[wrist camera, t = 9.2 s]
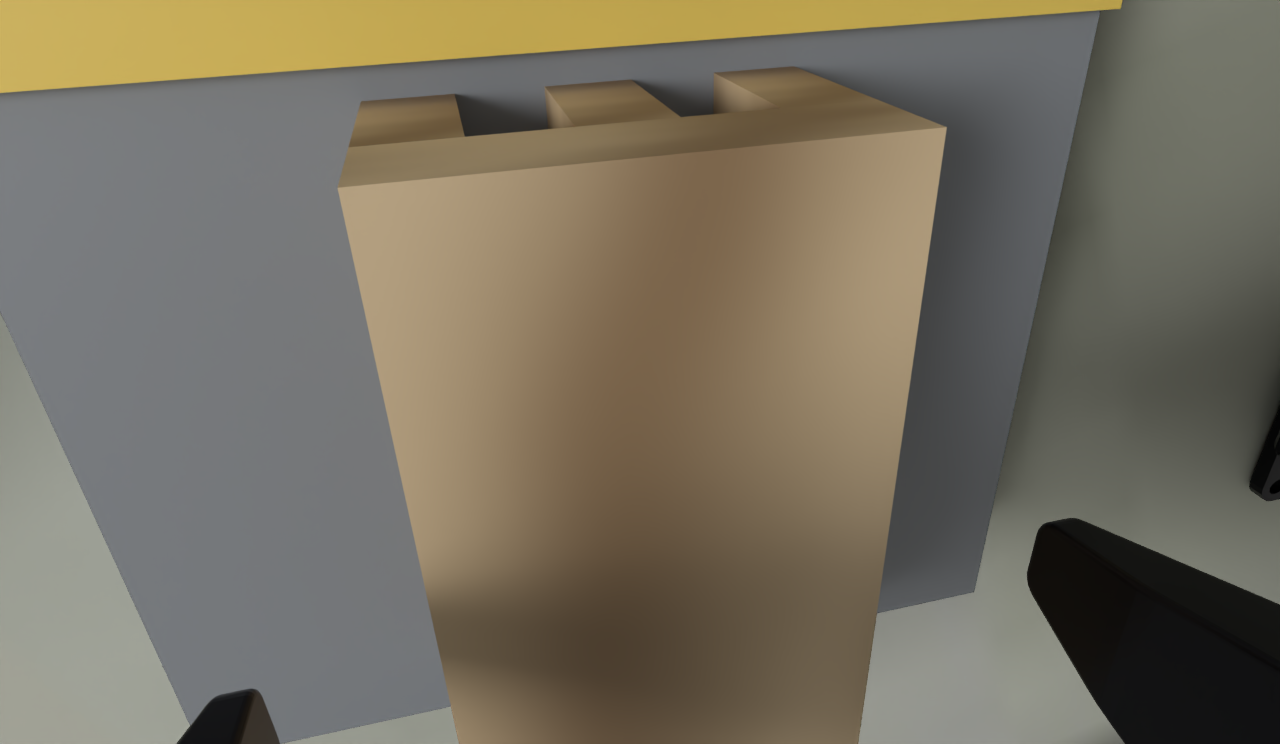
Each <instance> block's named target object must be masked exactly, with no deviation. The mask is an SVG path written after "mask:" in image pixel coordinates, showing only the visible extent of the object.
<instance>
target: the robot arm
mask: <svg viewBox="0 0 1280 744" xmlns="http://www.w3.org/2000/svg"><path fill="white" fill-rule="evenodd" d="M1249 487H1250V490H1251V491H1252V492H1254V493H1255V494H1257V495H1258V496H1260V497H1261V498H1262V499H1264V500H1266V501H1273V500H1277V499H1280V409H1279V411H1278V414H1277V416H1276V419H1275V421H1274V424H1273V426H1272V429H1271V431H1270V434H1269V436H1268V439H1267V441H1266V444H1265V446H1264V449H1263V451H1262V454H1261V456H1260V459H1259V461H1258V464H1257V466H1256V469H1255V471H1254V474H1253V476H1252V479H1251V481H1250V486H1249ZM1027 581H1028V586H1029V588H1030V591H1031V593H1032V595H1033V597H1034V599H1035V601H1036V602H1037V604H1038V606H1039V607H1040V609H1041V611H1042V613H1043V614H1044V616H1045V618H1046V619H1047V621H1048V623H1049V624H1050V626H1051V628H1052V630H1053V631H1054V633H1055V635H1056V636H1057V638H1058V640H1059V641H1060V643H1061V645H1062V647H1063V648H1064V650H1065V652H1066V653H1067V655H1068V657H1069V658H1070V660H1071V662H1072V664H1073V665H1074V667H1075V669H1076V670H1077V672H1078V674H1079V675H1080V677H1081V679H1082V681H1083V682H1084V684H1085V686H1086V687H1087V689H1088V690H1089V692H1090V694H1091V695H1092V697H1093V698H1094V700H1095V702H1096V703H1097V705H1098V706H1099V708H1100V709H1101V711H1102V712H1103V714H1104V715H1105V716H1106V718H1107V719H1108V721H1109V722H1110V724H1111V725H1112V726H1113V728H1114V729H1115V731H1116V732H1117V733H1118V735H1119V736H1120V738H1121V739H1122V740H1123V742H1124V743H1125V744H1280V605H1279V604H1277V603H1275V602H1272V601H1270V600H1268V599H1265V598H1263V597H1261V596H1258V595H1256V594H1254V593H1251V592H1249V591H1247V590H1244V589H1242V588H1240V587H1237V586H1235V585H1233V584H1230V583H1228V582H1226V581H1223V580H1221V579H1218V578H1216V577H1214V576H1211V575H1209V574H1207V573H1204V572H1202V571H1200V570H1197V569H1195V568H1193V567H1190V566H1188V565H1186V564H1183V563H1181V562H1179V561H1176V560H1174V559H1172V558H1169V557H1167V556H1165V555H1162V554H1160V553H1158V552H1155V551H1153V550H1151V549H1148V548H1146V547H1144V546H1141V545H1139V544H1137V543H1134V542H1132V541H1130V540H1127V539H1125V538H1122V537H1120V536H1118V535H1115V534H1113V533H1111V532H1108V531H1106V530H1104V529H1101V528H1099V527H1097V526H1094V525H1092V524H1090V523H1087V522H1085V521H1083V520H1080V519H1076V518H1067V519H1062V520H1057V521H1052V522H1048V523H1045V524H1043V525H1042V526H1041V527H1040V528H1039V530H1038V532H1037V536H1036V540H1035V543H1034V547H1033V551H1032V555H1031V559H1030V563H1029V567H1028V571H1027ZM177 744H280V742H279V738H278V735H277V733H276V730H275V728H274V725H273V722H272V720H271V717H270V715H269V712H268V709H267V707H266V704H265V702H264V699H263V697H262V695H261V693H260V692H259V691H258V690H256V689H251V688H250V689H245V690H240V691H235V692H230V693H226V694H221V695H218V696H216V697H214V698H213V699H212V700H210V701H209V702H208V704H207V705H206V706H205V707H204V709H203V710H202V711H201V712H200V714H199V715H198V716H197V718H196V719H195V720H194V722H193V723H192V724H191V725H190V727H189V728H188V729H187V731H186V732H185V733H184V735H183V736H182V737H181V738H180V740H179V741H178V742H177Z"/></svg>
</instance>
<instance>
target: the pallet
mask: <svg viewBox="0 0 1280 744" xmlns="http://www.w3.org/2000/svg"><path fill="white" fill-rule="evenodd" d="M544 88H545V99H546V110H547V122H548V129H545V130H534V131H523V132H512V133H501V134H490V135H479V136H468V137H465V135H464V131H463V127H462V123H461V119H460V115H459V110H458V106H457V102H456V98H455V94H445V95H433V96H420V97H408V98H396V99H383V100H371V101H361V103H360V106H359V110H358V114H357V117H356V121H355V125H354V129H353V132H352V136H351V140H350V143H349V147H348V151H347V154H346V158H345V162H344V166H343V169H342V173H341V177H340V180H339V184H338V193H339V197H340V202H341V206H342V211H343V215H344V220H345V225H346V229H347V234H348V238H349V243H350V247H351V252H352V257H353V261H354V266H355V270H356V275H357V279H358V284H359V289H360V293H361V298H362V302H363V307H364V311H365V316H366V321H367V325H368V330H369V334H370V339H371V343H372V348H373V353H374V357H375V362H376V366H377V371H378V375H379V380H380V385H381V389H382V394H383V398H384V403H385V407H386V412H387V417H388V421H389V426H390V430H391V435H392V439H393V444H394V449H395V453H396V458H397V462H398V467H399V471H400V476H401V481H402V485H403V490H404V494H405V499H406V503H407V508H408V513H409V517H410V522H411V526H412V531H413V535H414V540H415V545H416V549H417V554H418V558H419V563H420V567H421V572H422V577H423V581H424V586H425V590H426V595H427V599H428V604H429V609H430V613H431V618H432V622H433V627H434V631H435V636H436V641H437V645H438V650H439V654H440V659H441V663H442V668H443V673H444V677H445V682H446V686H447V691H448V695H449V700H450V704H451V709H452V714H453V718H454V723H455V727H456V732H457V736H458V741H459V744H858V741H859V734H860V727H861V720H862V713H863V706H864V699H865V692H866V685H867V678H868V671H869V664H870V657H871V651H872V644H873V637H874V630H875V623H876V616H877V609H878V602H879V595H880V588H881V581H882V574H883V567H884V560H885V553H886V546H887V539H888V532H889V525H890V518H891V512H892V505H893V498H894V491H895V484H896V477H897V470H898V463H899V456H900V449H901V442H902V435H903V428H904V421H905V414H906V407H907V400H908V393H909V386H910V380H911V373H912V366H913V359H914V352H915V345H916V338H917V331H918V324H919V317H920V310H921V303H922V296H923V289H924V282H925V275H926V268H927V261H928V254H929V248H930V241H931V234H932V227H933V220H934V213H935V206H936V199H937V192H938V185H939V178H940V171H941V164H942V157H943V150H944V143H945V136H946V129H947V127H945V126H942V125H940V124H937V123H935V122H932V121H930V120H927V119H925V118H922V117H920V116H917V115H915V114H912V113H910V112H907V111H905V110H902V109H900V108H897V107H895V106H892V105H890V104H887V103H885V102H882V101H880V100H877V99H875V98H872V97H870V96H867V95H865V94H862V93H860V92H857V91H855V90H852V89H850V88H847V87H845V86H842V85H840V84H837V83H835V82H832V81H829V80H827V79H824V78H822V77H819V76H817V75H814V74H812V73H809V72H807V71H804V70H802V69H799V68H797V67H794V66H790V67H778V68H765V69H753V70H741V71H728V72H716V73H714V105H713V114H710V115H699V116H688V117H680V116H679V115H677V114H676V113H675V112H673V111H672V110H671V109H669V108H668V107H667V106H665V105H664V104H663V103H661V102H660V101H659V100H657V99H656V98H655V97H653V96H652V95H651V94H649V93H648V92H647V91H645V90H644V89H643V88H641V87H640V86H639V85H637V84H636V83H635V82H633V81H632V80H631V79H630V80H617V81H605V82H593V83H580V84H568V85H556V86H544Z"/></svg>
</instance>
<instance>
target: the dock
mask: <svg viewBox="0 0 1280 744" xmlns="http://www.w3.org/2000/svg"><path fill="white" fill-rule="evenodd" d="M1121 5H1122V0H0V312H1V315H2V317H3V319H4V321H5V323H6V326H7V328H8V330H9V332H10V334H11V336H12V339H13V341H14V343H15V345H16V347H17V350H18V352H19V354H20V356H21V358H22V360H23V363H24V365H25V367H26V369H27V371H28V373H29V376H30V378H31V380H32V382H33V384H34V387H35V389H36V391H37V393H38V395H39V397H40V400H41V402H42V404H43V406H44V408H45V411H46V413H47V415H48V417H49V419H50V421H51V424H52V426H53V428H54V430H55V432H56V434H57V437H58V439H59V441H60V443H61V445H62V448H63V450H64V452H65V454H66V456H67V458H68V461H69V463H70V465H71V467H72V469H73V472H74V474H75V476H76V478H77V480H78V482H79V485H80V487H81V489H82V491H83V493H84V495H85V498H86V500H87V502H88V504H89V506H90V509H91V511H92V513H93V515H94V517H95V519H96V522H97V524H98V526H99V528H100V530H101V533H102V535H103V537H104V539H105V541H106V543H107V546H108V548H109V550H110V552H111V554H112V556H113V559H114V561H115V563H116V565H117V567H118V570H119V572H120V574H121V576H122V578H123V580H124V583H125V585H126V587H127V589H128V591H129V594H130V596H131V598H132V600H133V602H134V604H135V607H136V609H137V611H138V613H139V615H140V617H141V620H142V622H143V624H144V626H145V628H146V631H147V633H148V635H149V637H150V639H151V641H152V644H153V646H154V648H155V650H156V652H157V655H158V657H159V659H160V661H161V663H162V665H163V668H164V670H165V672H166V674H167V676H168V678H169V681H170V683H171V685H172V687H173V689H174V692H175V694H176V696H177V698H178V700H179V702H180V705H181V707H182V709H183V711H184V713H185V716H186V718H187V720H188V722H189V724H190V725H191V724H192V723H193V722H194V720H195V719H196V718H197V716H198V715H199V714H200V712H201V711H202V710H203V709H204V707H205V706H206V705H207V704H208V702H209V701H210V700H212V699H213V698H214V697H216V696H218V695H221V694H226V693H230V692H235V691H240V690H245V689H250V688H251V689H256V690H258V691H259V692H260V693H261V695H262V697H263V699H264V702H265V704H266V707H267V709H268V712H269V715H270V717H271V720H272V722H273V725H274V728H275V730H276V733H277V735H278V738H279V742H280V744H282V743H286V742H291V741H296V740H300V739H305V738H309V737H314V736H318V735H323V734H328V733H332V732H337V731H341V730H346V729H350V728H355V727H360V726H364V725H369V724H373V723H378V722H382V721H387V720H391V719H396V718H401V717H405V716H410V715H414V714H419V713H423V712H428V711H433V710H437V709H442V708H446V707H451V704H450V700H449V695H448V691H447V686H446V682H445V677H444V673H443V668H442V663H441V659H440V654H439V650H438V645H437V641H436V636H435V631H434V627H433V622H432V618H431V613H430V609H429V604H428V599H427V595H426V590H425V586H424V581H423V577H422V572H421V567H420V563H419V558H418V554H417V549H416V545H415V540H414V535H413V531H412V526H411V522H410V517H409V513H408V508H407V503H406V499H405V494H404V490H403V485H402V481H401V476H400V471H399V467H398V462H397V458H396V453H395V449H394V444H393V439H392V435H391V430H390V426H389V421H388V417H387V412H386V407H385V403H384V398H383V394H382V389H381V385H380V380H379V375H378V371H377V366H376V362H375V357H374V353H373V348H372V343H371V339H370V334H369V330H368V325H367V321H366V316H365V311H364V307H363V302H362V298H361V293H360V289H359V284H358V279H357V275H356V270H355V266H354V261H353V257H352V252H351V247H350V243H349V238H348V234H347V229H346V225H345V220H344V215H343V211H342V206H341V202H340V197H339V193H338V184H339V180H340V177H341V173H342V169H343V166H344V162H345V158H346V154H347V151H348V147H349V143H350V140H351V136H352V132H353V129H354V125H355V121H356V117H357V114H358V110H359V106H360V103H361V101H371V100H383V99H396V98H408V97H420V96H433V95H445V94H455V98H456V102H457V106H458V110H459V115H460V119H461V123H462V127H463V131H464V135H465V137H468V136H479V135H490V134H501V133H512V132H523V131H534V130H545V129H548V122H547V110H546V99H545V88H544V86H556V85H568V84H580V83H593V82H605V81H617V80H630V79H631V80H632V81H633V82H635V83H636V84H637V85H639V86H640V87H641V88H643V89H644V90H645V91H647V92H648V93H649V94H651V95H652V96H653V97H655V98H656V99H657V100H659V101H660V102H661V103H663V104H664V105H665V106H667V107H668V108H669V109H671V110H672V111H673V112H675V113H676V114H677V115H679V116H680V117H688V116H699V115H710V114H713V105H714V73H716V72H728V71H741V70H753V69H765V68H778V67H790V66H794V67H797V68H799V69H802V70H804V71H807V72H809V73H812V74H814V75H817V76H819V77H822V78H824V79H827V80H829V81H832V82H835V83H837V84H840V85H842V86H845V87H847V88H850V89H852V90H855V91H857V92H860V93H862V94H865V95H867V96H870V97H872V98H875V99H877V100H880V101H882V102H885V103H887V104H890V105H892V106H895V107H897V108H900V109H902V110H905V111H907V112H910V113H912V114H915V115H917V116H920V117H922V118H925V119H927V120H930V121H932V122H935V123H937V124H940V125H942V126H945V127H947V129H946V136H945V143H944V150H943V157H942V164H941V171H940V178H939V185H938V192H937V199H936V206H935V213H934V220H933V227H932V234H931V241H930V248H929V254H928V261H927V268H926V275H925V282H924V289H923V296H922V303H921V310H920V317H919V324H918V331H917V338H916V345H915V352H914V359H913V366H912V373H911V380H910V386H909V393H908V400H907V407H906V414H905V421H904V428H903V435H902V442H901V449H900V456H899V463H898V470H897V477H896V484H895V491H894V498H893V505H892V512H891V518H890V525H889V532H888V539H887V546H886V553H885V560H884V567H883V574H882V581H881V588H880V595H879V602H878V609H877V613H880V612H885V611H889V610H894V609H899V608H903V607H908V606H912V605H917V604H921V603H926V602H931V601H935V600H940V599H944V598H949V597H953V596H958V595H962V594H967V593H972V592H974V590H975V586H976V581H977V577H978V572H979V567H980V563H981V558H982V554H983V549H984V544H985V540H986V535H987V531H988V526H989V521H990V517H991V512H992V508H993V503H994V498H995V494H996V489H997V485H998V480H999V475H1000V471H1001V466H1002V462H1003V457H1004V452H1005V448H1006V443H1007V438H1008V434H1009V429H1010V425H1011V420H1012V415H1013V411H1014V406H1015V402H1016V397H1017V392H1018V388H1019V383H1020V379H1021V374H1022V369H1023V365H1024V360H1025V356H1026V351H1027V346H1028V342H1029V337H1030V333H1031V328H1032V323H1033V319H1034V314H1035V310H1036V305H1037V300H1038V296H1039V291H1040V286H1041V282H1042V277H1043V273H1044V268H1045V263H1046V259H1047V254H1048V250H1049V245H1050V240H1051V236H1052V231H1053V227H1054V222H1055V217H1056V213H1057V208H1058V204H1059V199H1060V194H1061V190H1062V185H1063V181H1064V176H1065V171H1066V167H1067V162H1068V158H1069V153H1070V148H1071V144H1072V139H1073V135H1074V130H1075V125H1076V121H1077V116H1078V111H1079V107H1080V102H1081V98H1082V93H1083V88H1084V84H1085V79H1086V75H1087V70H1088V65H1089V61H1090V56H1091V52H1092V47H1093V42H1094V38H1095V33H1096V29H1097V24H1098V19H1099V15H1100V10H1110V9H1121Z"/></svg>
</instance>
